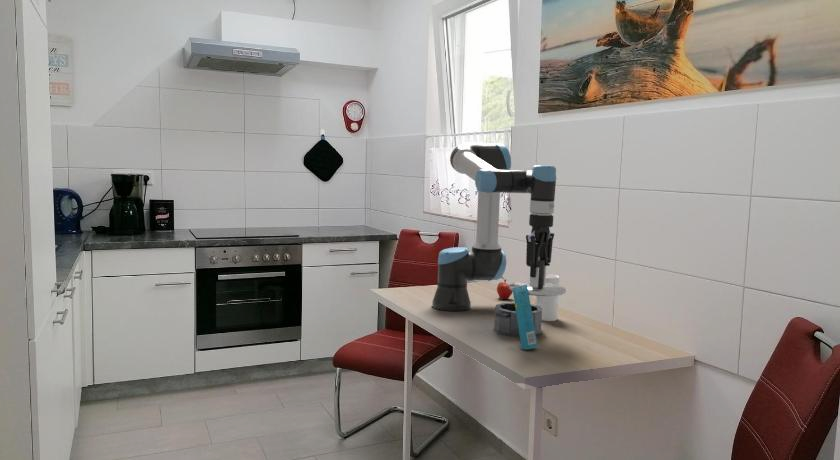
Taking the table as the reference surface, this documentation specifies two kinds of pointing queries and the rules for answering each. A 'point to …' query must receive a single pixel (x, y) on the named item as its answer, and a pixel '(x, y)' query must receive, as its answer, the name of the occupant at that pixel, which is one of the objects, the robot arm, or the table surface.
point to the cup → (549, 301)
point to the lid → (541, 285)
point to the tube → (524, 317)
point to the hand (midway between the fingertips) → (537, 285)
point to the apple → (504, 290)
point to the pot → (514, 319)
